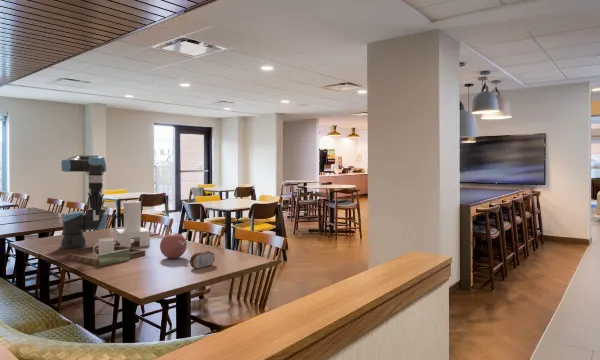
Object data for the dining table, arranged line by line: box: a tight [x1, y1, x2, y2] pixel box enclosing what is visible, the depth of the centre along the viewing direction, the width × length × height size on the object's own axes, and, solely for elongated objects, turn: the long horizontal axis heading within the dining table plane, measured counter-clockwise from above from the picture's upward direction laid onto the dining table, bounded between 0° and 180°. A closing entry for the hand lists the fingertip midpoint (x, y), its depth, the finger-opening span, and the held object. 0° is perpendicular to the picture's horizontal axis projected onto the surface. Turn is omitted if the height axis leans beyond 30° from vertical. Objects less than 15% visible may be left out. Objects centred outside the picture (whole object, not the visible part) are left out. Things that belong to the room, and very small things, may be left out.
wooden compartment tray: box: [66, 245, 146, 267], centre depth 239 cm, size 32×31×6 cm
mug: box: [92, 237, 115, 257], centre depth 232 cm, size 12×8×12 cm
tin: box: [189, 250, 215, 269], centre depth 218 cm, size 15×3×8 cm, turn 141°
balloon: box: [159, 232, 188, 260], centre depth 236 cm, size 15×20×15 cm
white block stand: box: [115, 200, 151, 248], centre depth 277 cm, size 19×19×30 cm
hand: (96, 220), depth 244 cm, fingers closed
